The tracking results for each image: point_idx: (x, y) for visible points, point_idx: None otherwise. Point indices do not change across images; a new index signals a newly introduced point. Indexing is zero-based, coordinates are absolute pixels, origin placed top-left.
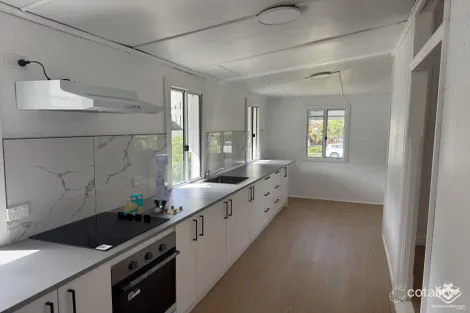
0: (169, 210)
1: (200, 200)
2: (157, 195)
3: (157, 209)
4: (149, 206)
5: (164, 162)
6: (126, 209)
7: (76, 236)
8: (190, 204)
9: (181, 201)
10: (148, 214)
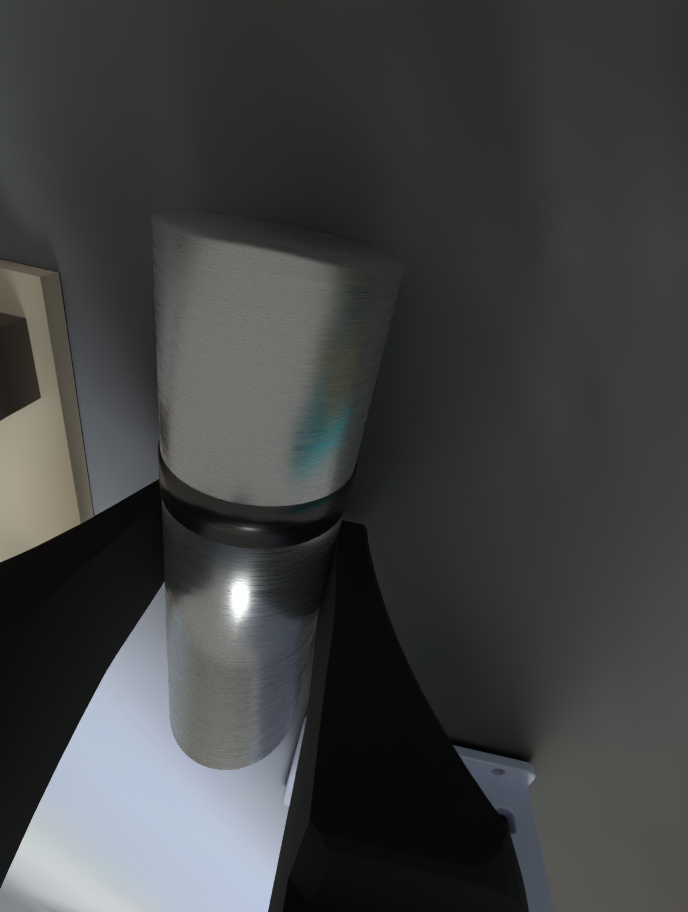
0: (42, 516)
1: (27, 878)
2: None
3: (163, 222)
4: (646, 796)
5: None
6: None
7: None
8: None
9: (212, 885)
10: (605, 30)
